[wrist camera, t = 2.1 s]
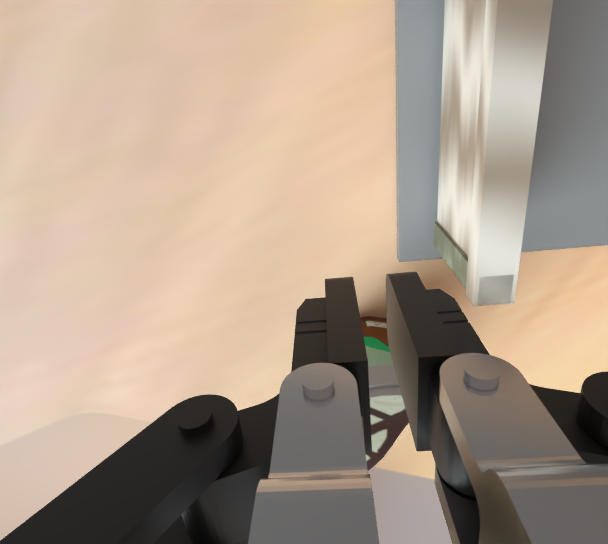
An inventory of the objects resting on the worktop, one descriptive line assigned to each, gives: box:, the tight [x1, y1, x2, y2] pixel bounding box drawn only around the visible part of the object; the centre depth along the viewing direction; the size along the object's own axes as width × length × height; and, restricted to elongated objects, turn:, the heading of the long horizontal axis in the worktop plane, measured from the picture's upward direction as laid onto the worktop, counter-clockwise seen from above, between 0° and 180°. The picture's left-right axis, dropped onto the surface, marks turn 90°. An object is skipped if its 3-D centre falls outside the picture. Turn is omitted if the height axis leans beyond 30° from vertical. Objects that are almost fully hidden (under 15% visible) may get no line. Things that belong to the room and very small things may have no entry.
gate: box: [433, 0, 553, 306], centre depth 21 cm, size 14×2×9 cm, turn 6°
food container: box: [360, 317, 409, 471], centre depth 30 cm, size 12×6×10 cm, turn 152°
